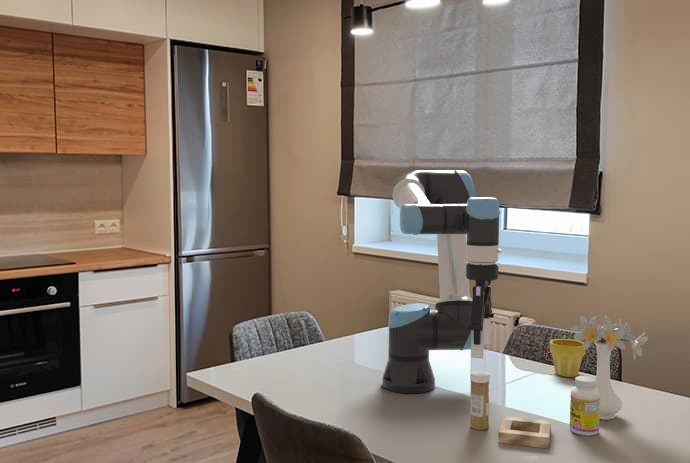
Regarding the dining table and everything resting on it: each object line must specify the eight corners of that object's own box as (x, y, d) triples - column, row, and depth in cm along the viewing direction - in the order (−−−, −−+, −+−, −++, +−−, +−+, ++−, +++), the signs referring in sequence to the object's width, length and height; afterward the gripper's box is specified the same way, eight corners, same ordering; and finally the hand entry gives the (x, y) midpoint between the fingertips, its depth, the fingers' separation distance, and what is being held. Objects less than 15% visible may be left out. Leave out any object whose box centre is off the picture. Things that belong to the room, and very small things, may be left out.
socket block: (498, 442, 161) (498, 431, 161) (503, 426, 172) (503, 416, 171) (548, 448, 158) (548, 437, 157) (550, 431, 168) (551, 421, 168)
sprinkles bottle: (492, 428, 170) (493, 373, 169) (479, 432, 168) (479, 376, 167) (479, 422, 174) (480, 369, 173) (465, 426, 172) (466, 371, 170)
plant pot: (580, 369, 220) (581, 338, 220) (588, 379, 210) (589, 346, 209) (546, 368, 222) (547, 338, 221) (552, 378, 211) (553, 346, 210)
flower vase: (640, 430, 168) (643, 327, 166) (561, 417, 178) (563, 318, 176) (648, 414, 180) (651, 317, 177) (573, 402, 189) (576, 310, 187)
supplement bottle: (565, 426, 171) (566, 374, 170) (591, 426, 172) (593, 374, 171) (576, 437, 164) (577, 383, 163) (604, 436, 165) (605, 382, 164)
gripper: (492, 270, 155) (490, 365, 156) (503, 257, 178) (502, 340, 180) (457, 268, 157) (456, 362, 159) (473, 256, 181) (472, 338, 182)
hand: (481, 350), depth 169 cm, fingers open, 13 cm apart
